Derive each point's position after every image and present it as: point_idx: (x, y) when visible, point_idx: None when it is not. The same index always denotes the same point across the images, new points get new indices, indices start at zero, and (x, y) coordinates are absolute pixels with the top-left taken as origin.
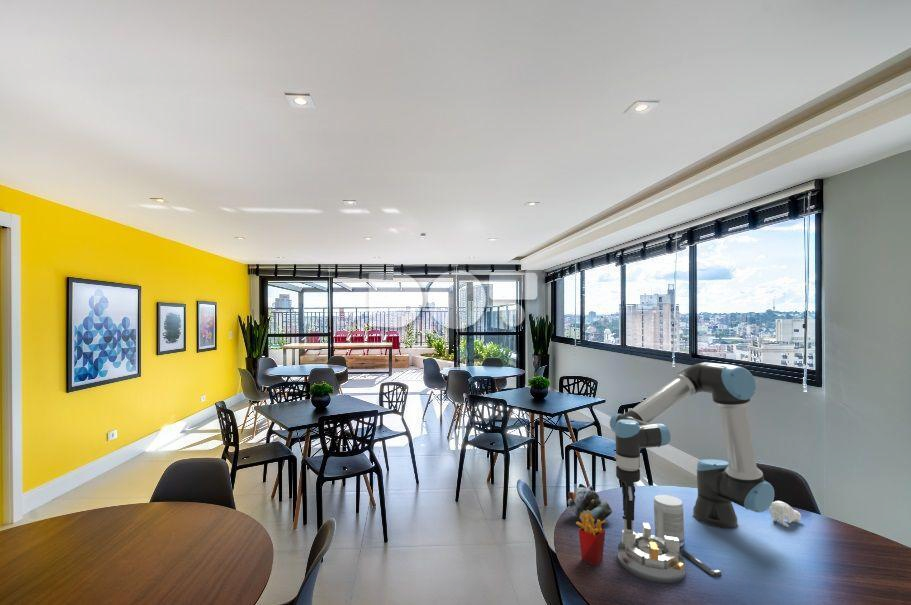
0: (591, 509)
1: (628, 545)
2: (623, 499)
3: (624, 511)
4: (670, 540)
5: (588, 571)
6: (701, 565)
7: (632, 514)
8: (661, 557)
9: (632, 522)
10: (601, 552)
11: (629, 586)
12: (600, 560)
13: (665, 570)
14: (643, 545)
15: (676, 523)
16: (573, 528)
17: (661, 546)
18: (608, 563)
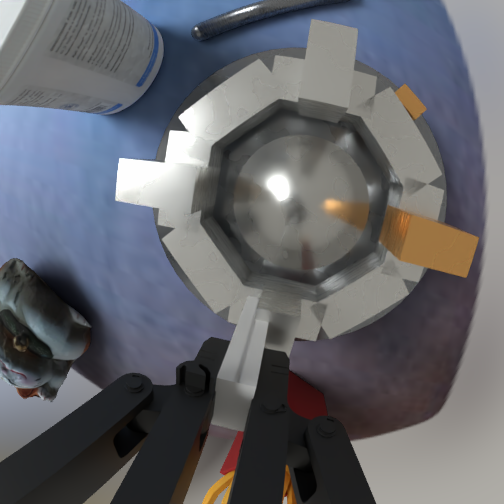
0: (46, 346)
1: (305, 325)
2: (97, 486)
3: (200, 454)
4: (352, 79)
5: (349, 412)
6: (307, 2)
7: (357, 485)
8: (419, 189)
9: (258, 370)
10: (297, 396)
11: (432, 326)
12: (299, 380)
13: (429, 184)
14: (312, 248)
15: (109, 6)
16: (116, 379)
17: (312, 136)
18: (308, 357)
